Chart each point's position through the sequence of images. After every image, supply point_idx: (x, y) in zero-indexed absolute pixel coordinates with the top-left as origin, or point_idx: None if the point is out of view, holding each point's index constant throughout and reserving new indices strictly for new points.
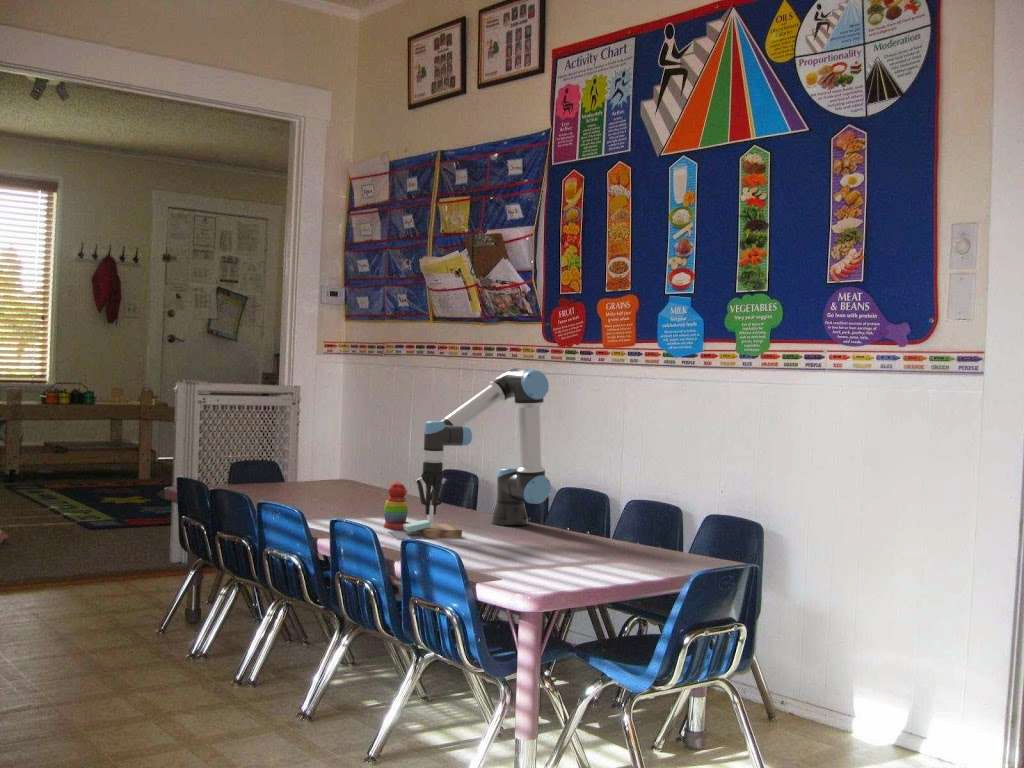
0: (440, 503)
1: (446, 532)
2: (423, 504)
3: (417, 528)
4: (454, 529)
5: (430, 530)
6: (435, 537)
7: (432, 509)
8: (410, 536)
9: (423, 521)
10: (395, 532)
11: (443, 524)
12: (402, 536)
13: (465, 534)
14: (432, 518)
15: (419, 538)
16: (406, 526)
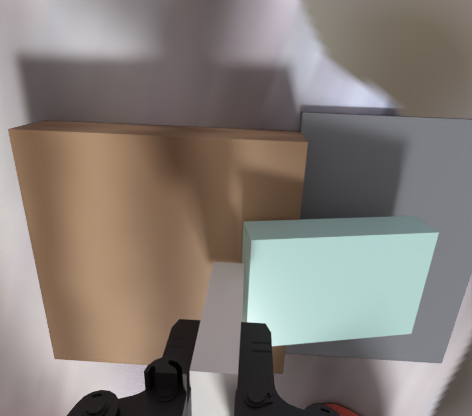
0: (87, 402)
1: (142, 132)
2: (328, 408)
3: (349, 223)
4: (66, 157)
5: (272, 141)
6: (231, 130)
7: (209, 345)
8: (391, 189)
9: (280, 303)
10: (416, 328)
11: (108, 352)
12: (445, 196)
13: (3, 238)
14: (215, 286)
15: (357, 115)
16: (432, 254)
